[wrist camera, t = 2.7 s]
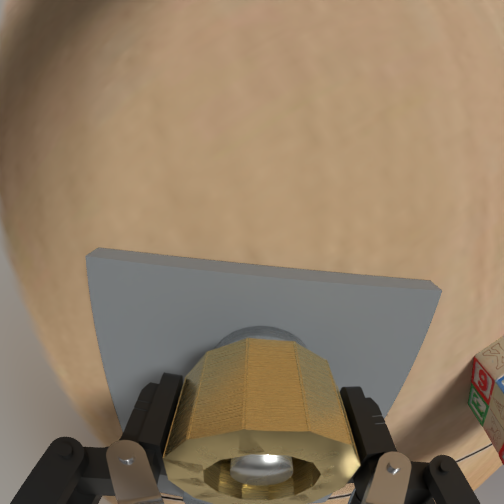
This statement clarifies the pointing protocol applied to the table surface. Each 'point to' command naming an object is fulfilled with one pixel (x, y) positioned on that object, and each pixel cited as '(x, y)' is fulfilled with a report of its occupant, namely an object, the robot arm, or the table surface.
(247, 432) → the brass ring
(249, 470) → the silver knob
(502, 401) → the stack of blocks
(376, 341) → the board
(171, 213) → the table surface
